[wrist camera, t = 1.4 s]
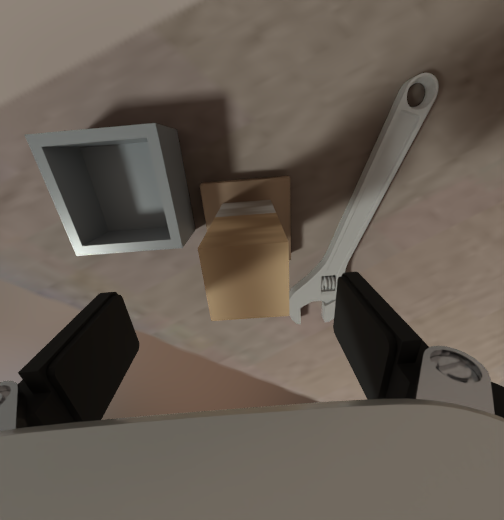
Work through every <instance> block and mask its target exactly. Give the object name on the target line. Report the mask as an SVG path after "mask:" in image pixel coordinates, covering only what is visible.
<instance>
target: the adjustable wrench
mask: <svg viewBox="0 0 504 520" xmlns="http://www.w3.org/2000/svg"><path fill="white" fill-rule="evenodd" d="M415 83H421V84H423V86H424V88H425V96H424V99H423V101H422V103H421V104H420V105H418V106H416V107H410V106H409V104H408V102H407V93H408V89H409V87H410V86H411V85H413V84H415ZM438 88H439V85H438V80H437V79H436V77H435V76H434V75H433V74H431V73H422V74H419V75H417V76H415V77H413V78H411V79H409V80H407V81H406V82H405V83H404V84H403V85H402V87H401V88H400V90H399V92H398V94H397V96H396V99H395V101H394V103H393V105H392V108H391V110H390V112H389V114H388V116H387V119H386V121H385V123H384V125H383V128H382V130H381V132H380V134H379V136H378V139H377V141H376V143H375V145H374V148H373V150H372V152H371V154H370V156H369V159H368V161H367V163H366V165H365V168H364V170H363V172H362V174H361V176H360V179H359V181H358V183H357V185H356V187H355V190H354V192H353V194H352V196H351V199H350V201H349V203H348V205H347V207H346V210H345V212H344V214H343V216H342V219H341V221H340V223H339V225H338V227H337V230H336V232H335V234H334V236H333V239H332V241H331V243H330V245H329V247H328V250H327V252H326V254H325V255H324V257H323V259H322V260H321V261H320V263H319V264H318V265H317V266H316V267H315V268H314V269H313V270H312V271H311V272H310V273H309V274H308V275H307V276H306V277H304V278H303V279H302V280H301V281H299V282H298V283H297V284H296V285H295V286H293V287H292V289H291V290H290V291H289V314H290V317H291V319H292V320H293V321H294V322H295V323H297V324H301V312H300V308H301V307H303V306H305V305H307V304H308V303H310V302H312V301H322V318H323V320H324V322H329V321H331V320H332V319H334V314H335V302H336V291H337V280H338V277H340V276H342V274H343V273H345V269H346V266H347V264H348V261H349V260H350V258H351V256H352V254H353V252H354V250H355V248H356V247H357V245H358V243H359V241H360V239H361V237H362V235H363V233H364V232H365V230H366V228H367V226H368V224H369V222H370V220H371V219H372V217H373V215H374V213H375V211H376V209H377V207H378V205H379V204H380V202H381V200H382V198H383V196H384V194H385V192H386V190H387V189H388V187H389V185H390V183H391V181H392V179H393V177H394V176H395V174H396V172H397V170H398V168H399V166H400V164H401V162H402V161H403V159H404V157H405V155H406V153H407V151H408V149H409V148H410V146H411V144H412V142H413V140H414V138H415V136H416V134H417V133H418V131H419V129H420V127H421V125H422V123H423V121H424V119H425V118H426V116H427V114H428V112H429V110H430V108H431V106H432V105H433V103H434V101H435V99H436V96H437V94H438ZM332 275H333V276H332Z"/></svg>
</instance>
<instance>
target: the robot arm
mask: <svg viewBox="0 0 504 520" xmlns="http://www.w3.org/2000/svg"><path fill="white" fill-rule="evenodd" d="M333 328H334V333H335V335H336V337H337V339H338V341H339V343H340V345H341V347H342V349H343V351H344V353H345V355H346V357H347V359H348V361H349V363H350V365H351V367H352V369H353V371H354V373H355V375H356V377H357V379H358V381H359V383H360V385H361V387H362V389H363V391H364V393H365V395H366V397H367V399H368V400H351V401H334V402H319V403H306V404H293V405H279V406H266V407H253V408H240V409H227V410H215V411H204V412H203V411H202V412H190V413H178V414H167V415H154V416H143V417H131V418H119V419H107V420H101V419H102V417H103V415H104V413H105V411H106V410H107V408H108V406H109V404H110V402H111V400H112V398H113V397H114V395H115V393H116V391H117V389H118V387H119V385H120V383H121V382H122V380H123V377H124V376H125V374H126V372H127V370H128V369H129V367H130V365H131V363H132V361H133V359H134V357H135V355H136V354H137V352H138V350H139V341H138V338H137V336H136V333H135V330H134V327H133V325H132V322H131V319H130V317H129V314H128V311H127V309H126V306H125V303H124V300H123V298H122V296H121V295H118V294H117V293H116V292H108V293H100V294H98V295H97V296H96V297H95V298H94V299H93V300H92V301H91V302H90V303H89V304H88V305H87V306H86V307H85V308H84V309H83V310H82V311H81V312H80V313H79V314H78V315H77V316H76V317H75V318H74V319H73V320H72V321H71V322H70V323H69V324H68V325H67V326H66V327H65V328H64V329H63V330H61V332H59V333H58V334H57V335H56V336H55V337H54V338H53V339H52V340H51V341H50V342H49V343H48V344H47V345H46V346H45V347H44V348H43V349H42V350H41V351H40V352H39V353H38V354H37V355H36V356H35V357H34V358H33V359H32V360H31V361H30V362H29V363H28V364H27V365H26V366H24V367H23V368H22V370H21V371H19V372H18V373H19V375H20V376H21V377H22V379H23V380H22V381H21V382H20V383H19V384H17V383H16V382H13V381H4V382H0V520H504V387H502V386H500V385H498V384H495V383H493V382H491V379H490V376H489V373H488V371H487V370H486V369H485V367H484V366H483V365H482V364H481V363H480V362H478V361H477V360H476V359H475V358H473V357H471V356H470V355H468V354H466V353H464V352H462V351H459V350H457V349H454V348H450V347H446V346H432V347H428V346H427V344H426V343H425V342H424V341H423V340H422V339H421V338H420V337H419V336H418V335H417V334H416V333H415V332H414V331H413V329H412V328H411V327H410V326H409V325H408V324H407V323H406V322H405V321H404V320H403V319H402V318H401V317H400V316H399V315H398V314H397V313H396V312H395V311H394V310H393V308H392V307H391V306H390V305H389V304H388V303H387V302H386V301H385V300H384V299H383V298H382V297H381V296H380V295H379V294H378V293H377V292H376V291H375V290H374V289H373V288H372V286H371V285H370V284H369V283H368V282H367V281H366V280H365V279H364V278H363V277H362V276H361V275H360V274H359V273H358V272H348V273H343V274H342V276H340V277H338V280H337V291H336V302H335V314H334V325H333Z"/></svg>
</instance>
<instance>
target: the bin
mask: <svg viewBox="0 0 504 520" xmlns="http://www.w3.org/2000/svg"><path fill="white" fill-rule="evenodd" d="M25 137H26V139H27V142H28V144H29V146H30V149H31V151H32V153H33V156H34V158H35V160H36V163H37V165H38V167H39V170H40V172H41V174H42V177H43V179H44V181H45V184H46V186H47V188H48V191H49V193H50V195H51V198H52V200H53V202H54V204H55V207H56V209H57V211H58V214H59V216H60V218H61V221H62V223H63V225H64V228H65V230H66V232H67V235H68V237H69V239H70V242H71V244H72V246H73V249H74V251H75V253H76V256H81V255H94V254H107V253H121V252H134V251H147V250H161V249H174V248H183V247H184V245H185V244H186V242H187V241H188V240H189V238H190V237H191V235H192V234H193V232H194V231H195V225H194V219H193V214H192V208H191V203H190V198H189V192H188V187H187V182H186V176H185V171H184V166H183V160H182V155H181V149H180V144H179V139H178V133H177V130H176V129H173V128H170V127H167V126H163V125H160V124H157V123H150V124H138V125H127V126H116V127H105V128H94V129H83V130H71V131H60V132H49V133H38V134H27V135H25Z"/></svg>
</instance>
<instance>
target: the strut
mask: <svg viewBox="0 0 504 520" xmlns="http://www.w3.org/2000/svg"><path fill="white" fill-rule="evenodd" d="M198 252H199V258H200V263H201V268H202V274H203V279H204V284H205V289H206V295H207V300H208V305H209V311H210V316H211V321H217V320H232V319H247V318H262V317H277V316H290V314H289V242H288V239H287V237H286V235H285V232H284V230H283V228H282V225H281V223H280V221H279V218H278V216H277V214H276V211H275V209H274V207H273V204H272V202H271V200H261V201H248V202H235V203H223V204H222V205H221V207H220V209H219V211H218V213H217V214H216V216H215V218H214V220H213V222H212V224H211V225H210V227H209V229H208V231H207V233H206V235H205V236H204V238H203V240H202V242H201V244H200V246H199V247H198Z"/></svg>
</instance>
